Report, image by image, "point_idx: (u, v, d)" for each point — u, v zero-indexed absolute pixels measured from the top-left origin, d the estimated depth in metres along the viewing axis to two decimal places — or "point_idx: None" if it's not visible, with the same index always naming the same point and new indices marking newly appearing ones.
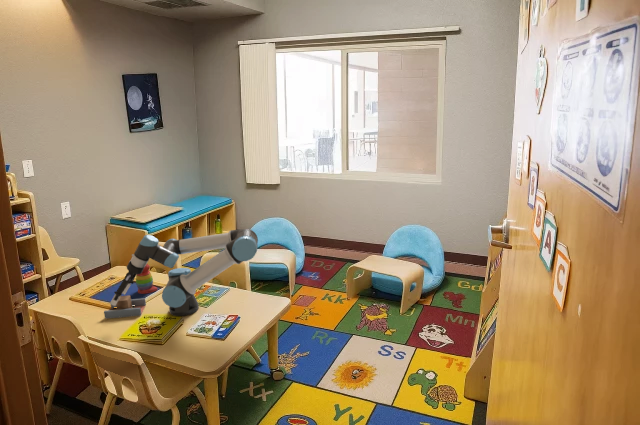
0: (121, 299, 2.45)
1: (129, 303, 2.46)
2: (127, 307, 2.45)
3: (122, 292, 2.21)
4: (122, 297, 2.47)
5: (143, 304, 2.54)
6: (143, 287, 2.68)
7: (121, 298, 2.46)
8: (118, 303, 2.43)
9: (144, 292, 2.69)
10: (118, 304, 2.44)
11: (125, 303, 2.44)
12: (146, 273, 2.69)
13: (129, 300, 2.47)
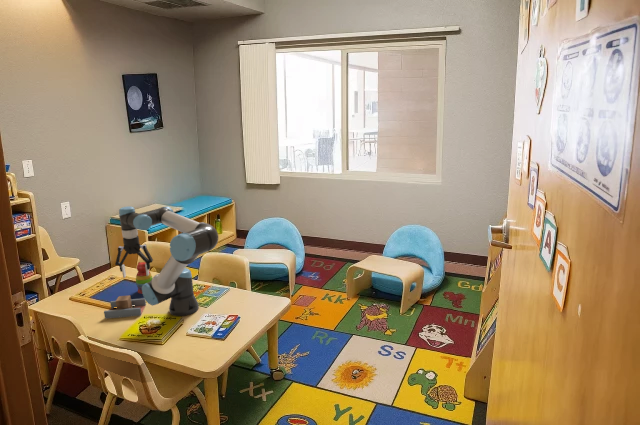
0: (121, 299, 2.45)
1: (129, 303, 2.46)
2: (127, 307, 2.45)
3: (121, 263, 2.40)
4: (122, 297, 2.47)
5: (143, 304, 2.54)
6: None
7: (121, 298, 2.46)
8: (118, 303, 2.43)
9: None
10: (118, 304, 2.44)
11: (125, 303, 2.44)
12: None
13: (129, 300, 2.47)
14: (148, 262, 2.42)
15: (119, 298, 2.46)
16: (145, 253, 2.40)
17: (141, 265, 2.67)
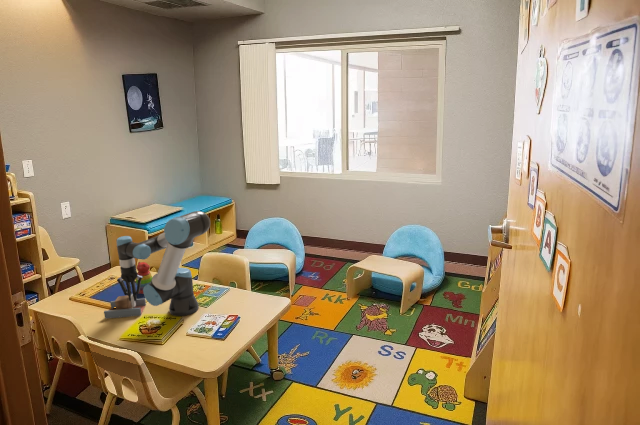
0: (120, 299, 2.45)
1: (128, 303, 2.46)
2: (127, 307, 2.45)
3: (129, 292, 2.45)
4: (121, 297, 2.47)
5: (143, 304, 2.54)
6: (143, 287, 2.68)
7: (120, 298, 2.46)
8: (117, 303, 2.43)
9: None
10: (117, 305, 2.44)
11: (125, 303, 2.44)
12: (146, 273, 2.69)
13: (128, 300, 2.47)
14: (135, 294, 2.45)
15: (118, 298, 2.46)
16: (137, 284, 2.44)
17: (141, 265, 2.67)
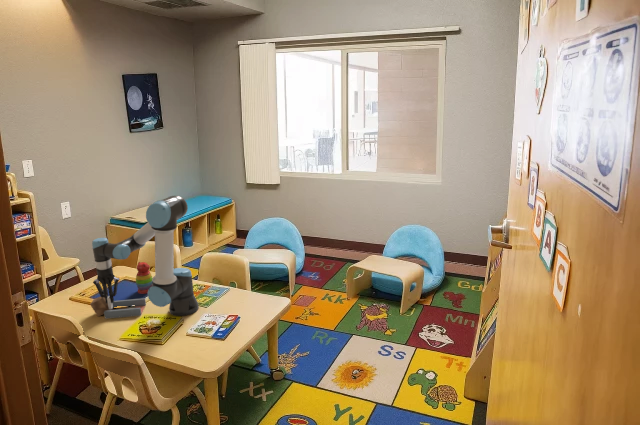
0: (95, 300, 2.43)
1: (104, 302, 2.44)
2: (103, 306, 2.43)
3: (106, 295, 2.43)
4: (97, 298, 2.45)
5: (143, 304, 2.54)
6: (143, 287, 2.68)
7: (96, 299, 2.44)
8: (93, 305, 2.42)
9: (144, 292, 2.69)
10: (94, 306, 2.42)
11: (100, 303, 2.42)
12: (146, 273, 2.69)
13: (104, 299, 2.45)
14: (111, 296, 2.44)
15: (94, 300, 2.44)
16: (114, 286, 2.43)
17: (141, 265, 2.67)
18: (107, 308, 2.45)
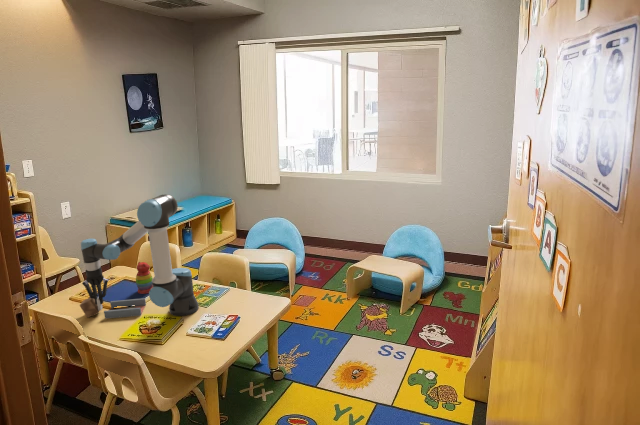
0: (85, 301, 2.42)
1: (94, 303, 2.43)
2: (93, 307, 2.42)
3: (95, 296, 2.43)
4: (86, 300, 2.45)
5: (143, 304, 2.54)
6: (143, 287, 2.68)
7: (85, 301, 2.43)
8: (83, 306, 2.41)
9: (144, 292, 2.69)
10: (83, 308, 2.41)
11: (89, 304, 2.41)
12: (146, 273, 2.69)
13: (93, 300, 2.44)
14: (101, 297, 2.43)
15: (83, 301, 2.44)
16: (103, 287, 2.42)
17: (141, 265, 2.67)
18: (97, 309, 2.44)
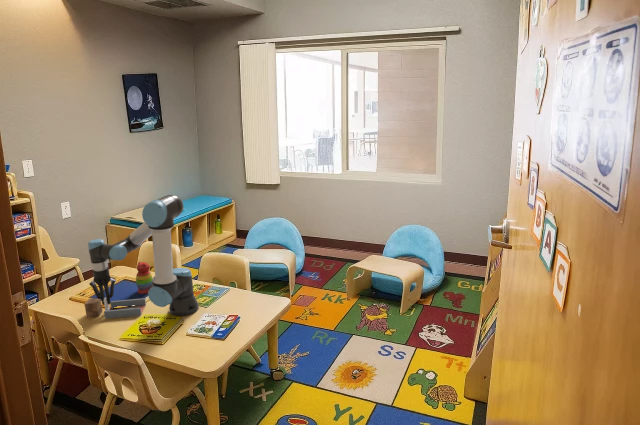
0: (90, 302, 2.43)
1: (98, 306, 2.44)
2: (96, 310, 2.42)
3: (102, 296, 2.43)
4: (92, 300, 2.45)
5: (143, 304, 2.54)
6: (143, 287, 2.68)
7: (90, 301, 2.44)
8: (87, 306, 2.41)
9: (144, 292, 2.69)
10: (87, 307, 2.41)
11: (94, 306, 2.42)
12: (146, 273, 2.69)
13: (99, 303, 2.45)
14: (108, 298, 2.44)
15: (88, 301, 2.44)
16: None
17: (141, 265, 2.67)
18: (99, 312, 2.44)
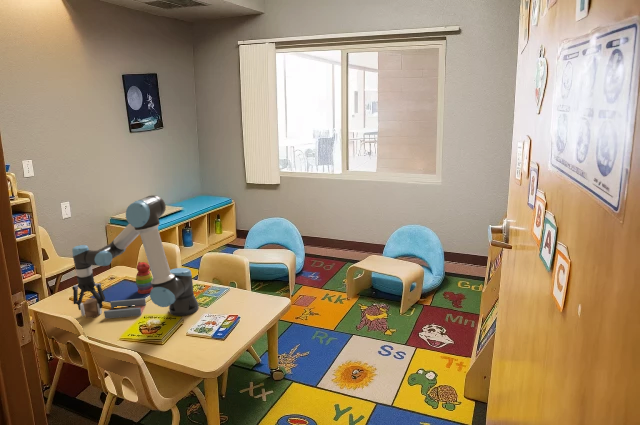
0: (89, 302, 2.42)
1: None
2: (95, 310, 2.42)
3: (79, 302, 2.42)
4: (90, 300, 2.45)
5: (143, 304, 2.54)
6: (143, 287, 2.68)
7: (89, 301, 2.44)
8: (86, 306, 2.41)
9: (144, 292, 2.69)
10: (86, 307, 2.41)
11: (93, 306, 2.42)
12: (146, 273, 2.69)
13: None
14: (100, 301, 2.44)
15: (87, 301, 2.44)
16: (98, 292, 2.42)
17: (141, 265, 2.67)
18: None
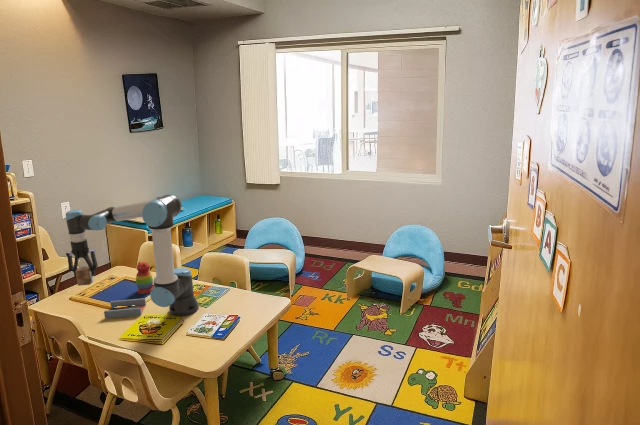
0: (81, 269, 2.37)
1: (89, 274, 2.39)
2: (87, 277, 2.37)
3: (75, 268, 2.37)
4: (83, 267, 2.40)
5: (143, 304, 2.54)
6: (143, 287, 2.68)
7: (81, 268, 2.39)
8: (78, 273, 2.36)
9: (144, 292, 2.69)
10: (78, 275, 2.36)
11: (85, 273, 2.37)
12: (146, 273, 2.69)
13: None
14: (92, 269, 2.39)
15: (79, 268, 2.39)
16: (92, 258, 2.37)
17: (141, 265, 2.67)
18: (90, 280, 2.39)
